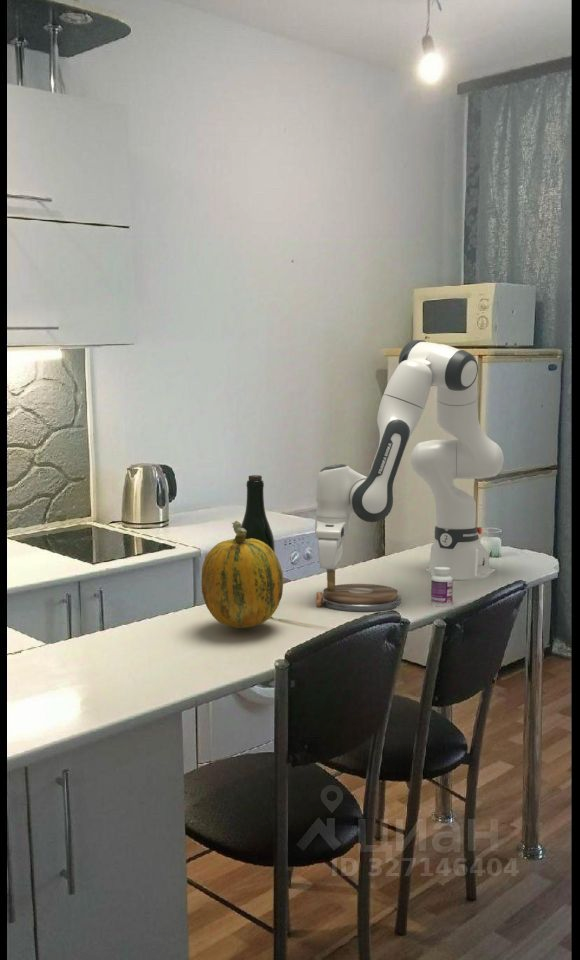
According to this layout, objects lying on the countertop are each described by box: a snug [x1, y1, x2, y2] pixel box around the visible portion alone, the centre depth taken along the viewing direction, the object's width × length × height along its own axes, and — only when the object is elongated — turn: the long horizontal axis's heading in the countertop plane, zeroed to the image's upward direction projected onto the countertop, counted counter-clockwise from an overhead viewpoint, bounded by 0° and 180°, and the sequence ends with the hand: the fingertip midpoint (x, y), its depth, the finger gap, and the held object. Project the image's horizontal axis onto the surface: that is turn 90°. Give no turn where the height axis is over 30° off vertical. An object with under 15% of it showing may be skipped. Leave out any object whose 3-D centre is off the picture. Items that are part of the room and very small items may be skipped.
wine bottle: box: [241, 474, 276, 554], centre depth 235 cm, size 10×10×33 cm
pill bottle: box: [430, 567, 454, 608], centre depth 235 cm, size 5×5×10 cm
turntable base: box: [315, 591, 403, 613], centre depth 238 cm, size 21×21×4 cm
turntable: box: [322, 570, 399, 605], centre depth 238 cm, size 19×19×6 cm
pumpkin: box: [200, 520, 284, 629], centre depth 214 cm, size 19×19×25 cm
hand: (330, 580), depth 240 cm, fingers closed
